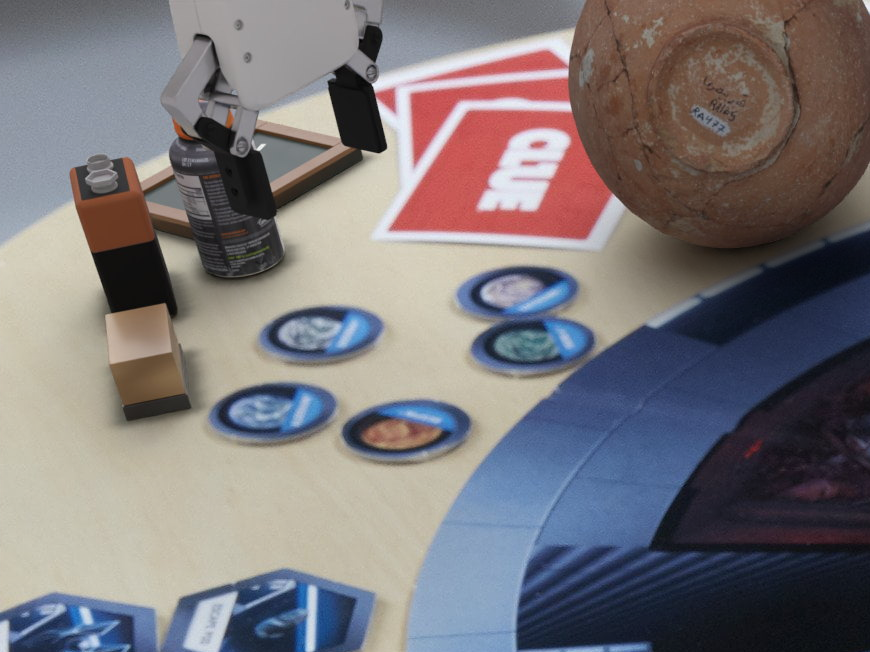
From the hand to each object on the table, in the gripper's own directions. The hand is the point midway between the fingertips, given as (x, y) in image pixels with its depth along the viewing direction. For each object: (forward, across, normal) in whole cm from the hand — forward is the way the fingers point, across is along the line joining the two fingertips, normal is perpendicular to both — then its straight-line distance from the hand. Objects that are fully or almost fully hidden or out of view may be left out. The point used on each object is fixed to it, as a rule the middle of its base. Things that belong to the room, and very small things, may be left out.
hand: (311, 180), depth 142 cm
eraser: (+16, +2, -17) cm, 24 cm away
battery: (+17, -6, -27) cm, 33 cm away
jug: (+3, -25, +12) cm, 28 cm away
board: (+16, -24, -34) cm, 45 cm away
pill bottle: (+17, -14, -25) cm, 33 cm away
